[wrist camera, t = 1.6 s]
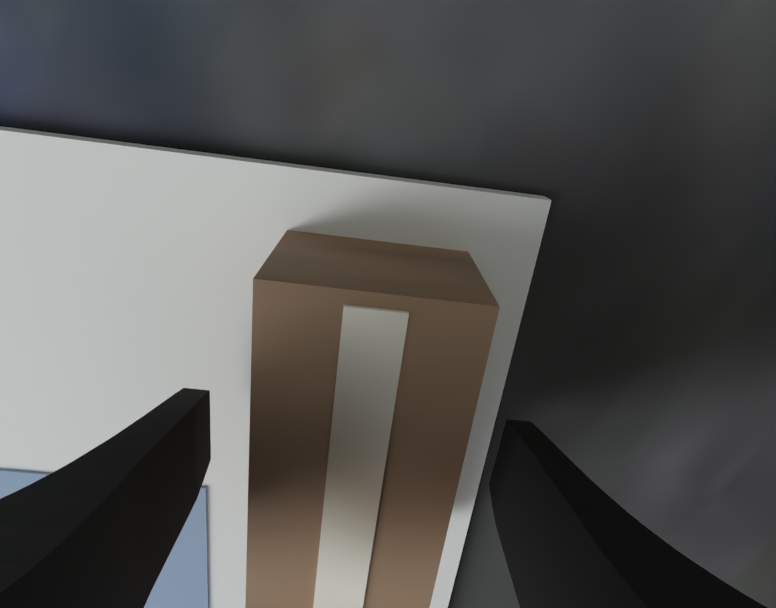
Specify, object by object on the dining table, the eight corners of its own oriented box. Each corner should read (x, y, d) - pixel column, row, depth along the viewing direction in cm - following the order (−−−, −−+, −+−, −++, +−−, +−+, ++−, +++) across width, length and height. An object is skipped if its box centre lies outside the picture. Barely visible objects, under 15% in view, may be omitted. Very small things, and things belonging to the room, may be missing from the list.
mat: (422, 686, 20) (423, 706, 19) (-97, 654, 19) (-114, 674, 18) (543, 195, 12) (552, 201, 12) (-317, 85, 11) (-361, 84, 10)
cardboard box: (414, 520, 16) (424, 634, 12) (273, 508, 15) (244, 621, 12) (468, 251, 12) (501, 308, 9) (287, 230, 12) (251, 280, 9)
